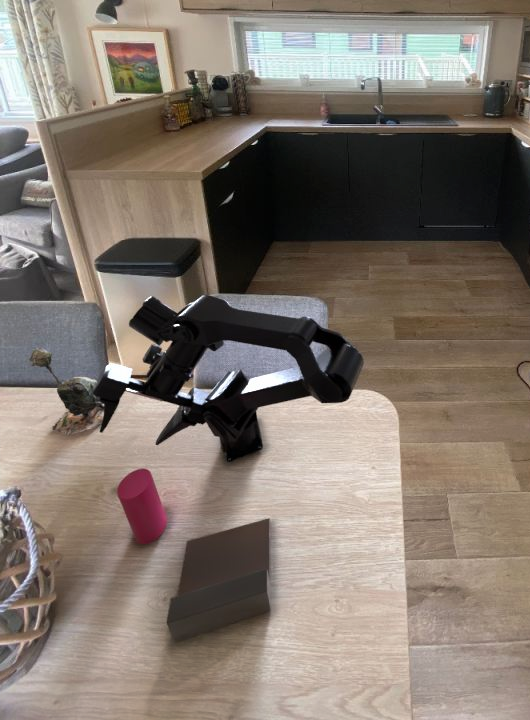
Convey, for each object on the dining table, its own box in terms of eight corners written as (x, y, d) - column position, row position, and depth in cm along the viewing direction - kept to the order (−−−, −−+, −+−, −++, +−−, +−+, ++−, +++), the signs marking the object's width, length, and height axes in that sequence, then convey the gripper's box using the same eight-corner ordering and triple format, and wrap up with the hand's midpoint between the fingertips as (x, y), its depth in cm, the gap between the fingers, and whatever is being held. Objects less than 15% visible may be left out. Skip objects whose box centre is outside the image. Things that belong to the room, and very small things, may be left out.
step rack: (189, 548, 59) (183, 528, 57) (270, 525, 62) (267, 505, 60) (174, 643, 50) (166, 623, 48) (271, 610, 53) (267, 591, 51)
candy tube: (167, 507, 64) (152, 463, 60) (166, 535, 61) (150, 491, 56) (136, 520, 62) (119, 475, 58) (133, 550, 59) (114, 505, 54)
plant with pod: (91, 445, 74) (58, 365, 66) (46, 431, 77) (9, 352, 69) (127, 409, 81) (101, 333, 73) (85, 397, 84) (55, 323, 76)
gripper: (227, 351, 79) (184, 419, 78) (133, 317, 71) (83, 392, 69) (231, 384, 69) (181, 462, 68) (122, 349, 61) (63, 437, 60)
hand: (129, 437), depth 67 cm, fingers open, 9 cm apart
